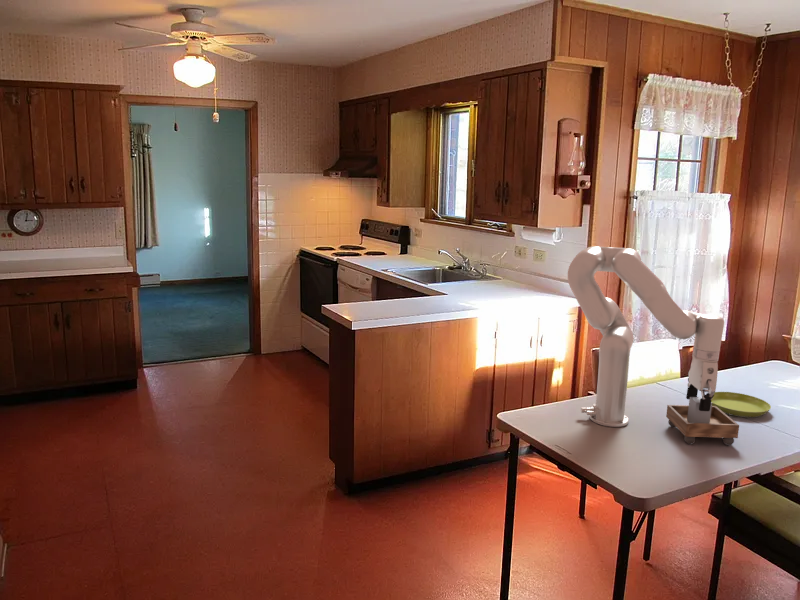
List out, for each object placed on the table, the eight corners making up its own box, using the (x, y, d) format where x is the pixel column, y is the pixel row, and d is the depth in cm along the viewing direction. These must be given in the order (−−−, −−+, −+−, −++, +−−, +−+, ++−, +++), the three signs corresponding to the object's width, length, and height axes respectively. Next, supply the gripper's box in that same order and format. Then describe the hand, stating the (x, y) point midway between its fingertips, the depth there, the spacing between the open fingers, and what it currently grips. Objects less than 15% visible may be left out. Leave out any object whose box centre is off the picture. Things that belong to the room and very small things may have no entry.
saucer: (778, 423, 221) (779, 414, 220) (713, 417, 225) (714, 408, 224) (758, 402, 241) (759, 393, 240) (699, 397, 245) (700, 388, 244)
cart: (684, 445, 201) (687, 423, 200) (665, 424, 217) (667, 404, 215) (736, 446, 201) (739, 425, 199) (713, 426, 217) (715, 406, 215)
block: (693, 426, 206) (696, 402, 204) (687, 420, 211) (689, 396, 209) (709, 426, 206) (712, 402, 204) (702, 420, 210) (705, 397, 209)
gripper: (730, 363, 195) (721, 416, 199) (705, 346, 212) (697, 395, 215) (705, 362, 195) (697, 414, 199) (682, 345, 212) (675, 394, 216)
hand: (697, 404), depth 207 cm, fingers open, 9 cm apart
